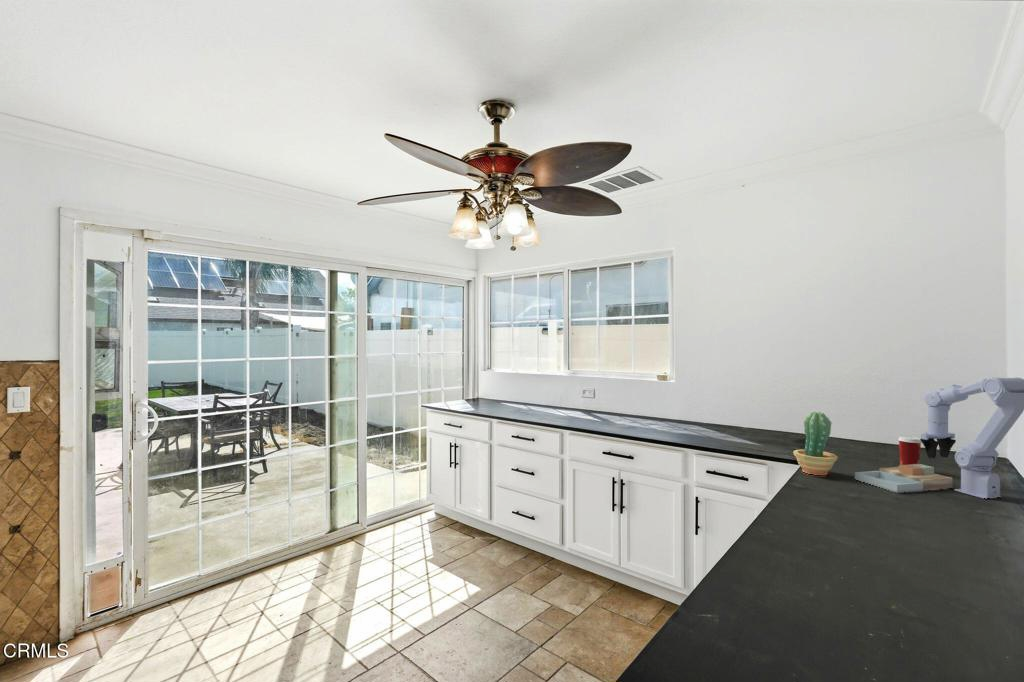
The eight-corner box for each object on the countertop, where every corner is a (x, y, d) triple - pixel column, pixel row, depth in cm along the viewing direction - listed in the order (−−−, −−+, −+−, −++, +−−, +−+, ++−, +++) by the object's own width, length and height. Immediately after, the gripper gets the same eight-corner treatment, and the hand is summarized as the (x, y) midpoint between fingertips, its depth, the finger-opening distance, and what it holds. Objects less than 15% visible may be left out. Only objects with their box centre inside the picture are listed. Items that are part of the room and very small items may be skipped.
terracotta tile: (922, 474, 176) (922, 468, 176) (912, 475, 175) (912, 468, 175) (908, 471, 181) (908, 464, 181) (898, 471, 180) (898, 465, 180)
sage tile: (933, 473, 178) (934, 467, 178) (923, 474, 176) (923, 467, 176) (919, 470, 182) (919, 463, 182) (909, 470, 181) (909, 464, 181)
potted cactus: (847, 479, 183) (847, 415, 183) (807, 478, 183) (808, 414, 183) (821, 468, 199) (822, 409, 199) (785, 467, 199) (785, 409, 199)
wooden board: (952, 488, 172) (952, 477, 172) (923, 491, 169) (923, 480, 169) (906, 476, 188) (906, 466, 188) (879, 478, 185) (879, 468, 185)
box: (923, 491, 169) (923, 482, 169) (897, 493, 166) (897, 484, 166) (879, 478, 185) (879, 470, 185) (854, 480, 182) (854, 472, 182)
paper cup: (926, 473, 192) (927, 439, 192) (907, 473, 192) (908, 439, 192) (910, 468, 200) (911, 435, 200) (892, 468, 200) (892, 435, 200)
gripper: (940, 420, 187) (940, 454, 187) (912, 421, 183) (912, 455, 183) (961, 423, 180) (960, 458, 180) (932, 424, 177) (932, 460, 177)
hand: (937, 457), depth 181 cm, fingers open, 6 cm apart
